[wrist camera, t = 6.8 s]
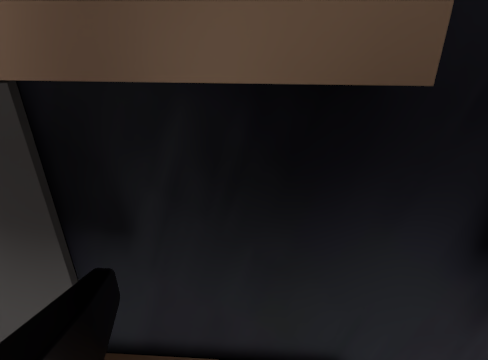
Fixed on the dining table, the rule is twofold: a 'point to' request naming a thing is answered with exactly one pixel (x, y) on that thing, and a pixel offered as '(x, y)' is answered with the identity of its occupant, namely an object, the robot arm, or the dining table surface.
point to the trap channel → (176, 71)
